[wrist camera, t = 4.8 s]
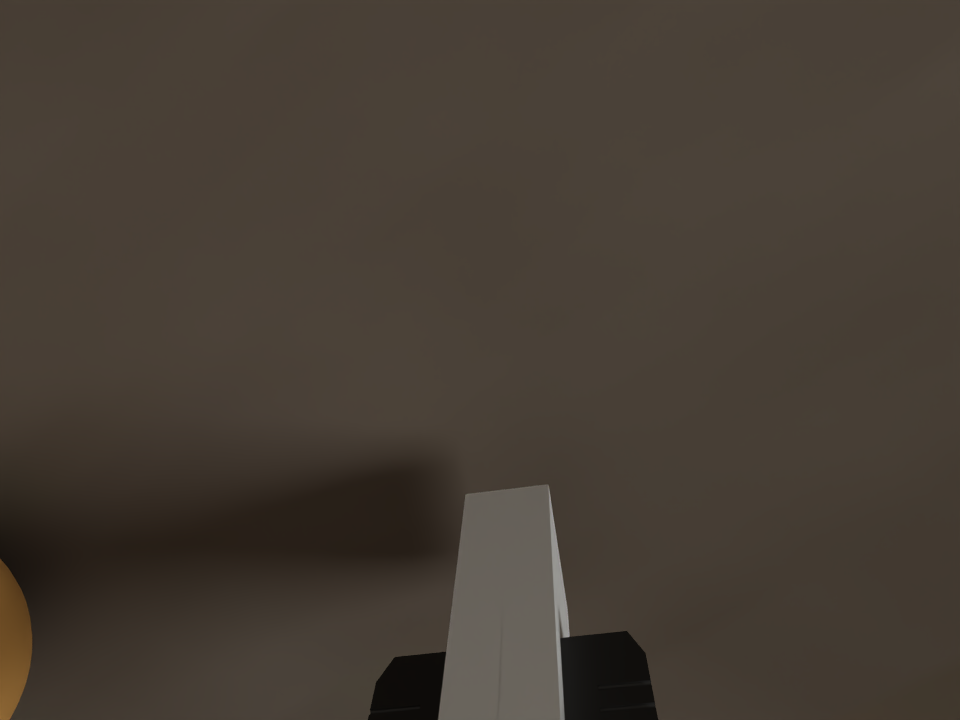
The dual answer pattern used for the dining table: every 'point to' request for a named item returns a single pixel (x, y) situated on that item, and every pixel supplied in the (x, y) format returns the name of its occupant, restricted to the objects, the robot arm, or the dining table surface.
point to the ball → (13, 642)
